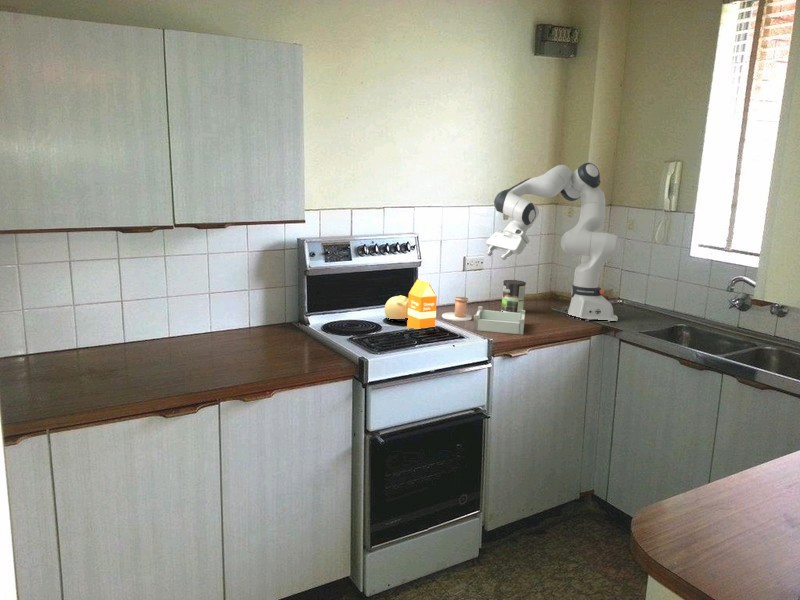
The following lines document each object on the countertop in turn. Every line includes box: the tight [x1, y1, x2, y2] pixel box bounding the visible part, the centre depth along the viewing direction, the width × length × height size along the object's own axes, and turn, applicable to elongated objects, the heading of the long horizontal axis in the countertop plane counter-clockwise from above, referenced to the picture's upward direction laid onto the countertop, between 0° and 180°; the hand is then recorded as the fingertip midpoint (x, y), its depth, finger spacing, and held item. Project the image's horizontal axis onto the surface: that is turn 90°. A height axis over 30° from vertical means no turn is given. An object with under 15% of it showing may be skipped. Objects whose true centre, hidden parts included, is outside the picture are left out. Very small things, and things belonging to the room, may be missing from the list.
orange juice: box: [406, 279, 438, 329], centre depth 267 cm, size 8×9×20 cm
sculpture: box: [384, 294, 409, 320], centre depth 284 cm, size 12×12×11 cm
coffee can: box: [500, 279, 527, 313], centre depth 312 cm, size 10×10×14 cm
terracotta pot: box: [454, 296, 469, 318], centre depth 293 cm, size 6×6×8 cm
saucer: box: [441, 311, 473, 322], centre depth 295 cm, size 13×13×1 cm
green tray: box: [472, 305, 526, 335], centre depth 281 cm, size 20×20×6 cm
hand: (495, 256), depth 301 cm, fingers open, 8 cm apart
